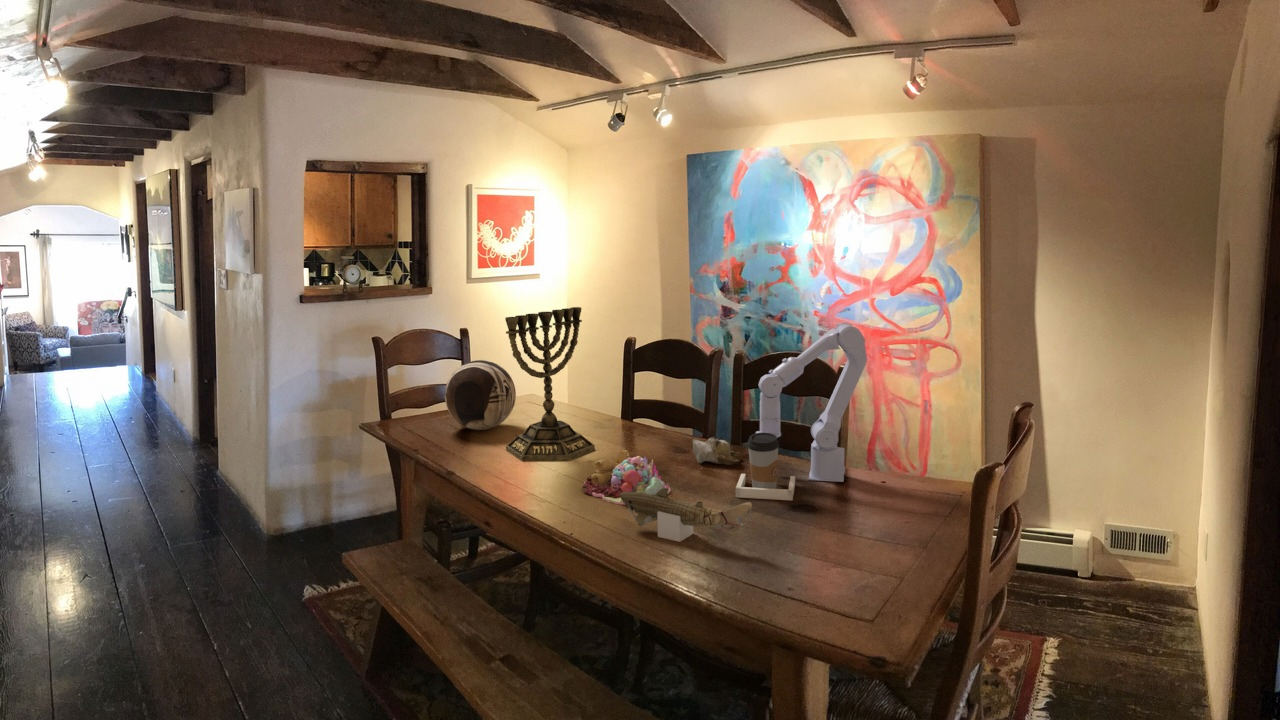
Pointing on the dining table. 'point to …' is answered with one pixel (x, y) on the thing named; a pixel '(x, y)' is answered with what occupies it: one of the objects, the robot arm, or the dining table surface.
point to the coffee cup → (763, 460)
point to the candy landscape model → (623, 478)
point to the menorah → (547, 388)
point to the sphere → (480, 395)
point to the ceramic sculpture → (715, 451)
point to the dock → (764, 491)
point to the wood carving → (681, 514)
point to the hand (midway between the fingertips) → (770, 463)
